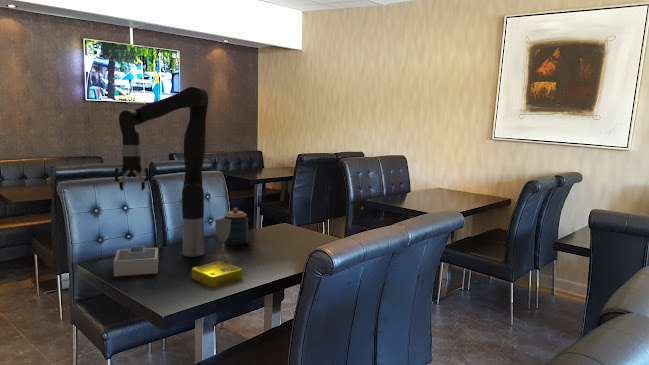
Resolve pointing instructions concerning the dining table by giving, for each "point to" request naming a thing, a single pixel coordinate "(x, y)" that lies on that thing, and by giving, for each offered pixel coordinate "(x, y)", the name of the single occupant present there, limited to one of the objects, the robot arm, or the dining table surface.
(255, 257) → the dining table surface
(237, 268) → the element tile
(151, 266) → the large crate
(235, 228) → the canister
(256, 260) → the dining table surface
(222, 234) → the chalice
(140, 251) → the small crate
